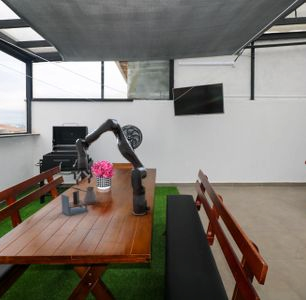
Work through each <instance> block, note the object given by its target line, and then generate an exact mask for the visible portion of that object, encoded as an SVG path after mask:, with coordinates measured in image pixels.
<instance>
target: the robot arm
mask: <svg viewBox="0 0 306 300" xmlns="http://www.w3.org/2000/svg"><path fill="white" fill-rule="evenodd" d="M107 132H111V133H113V135H114V136H115V138H116V146H117V149H118V151H119V153H120V154H121V156H122V158H124V159H125V160H126V161H127V162H128V163H130V164H131V166H132V167H133V168H132V169H131V170H130V186H131V188H132V189H131V191H132V215H134V216H144V215H146V214H147V213H149V211H151V206H150V205H148V201H147V199H146V197H147V196H146V195H147V194H146V185H145V184H143V181H142V180H145V179H146V178H147V177H148V170H147V169H146V167H145V165H144V164H143V162H141V160H140V158H139V157H138V155H137V153H136V152H135V151H134V148H133V147H132V145H131V143H130V142H129V140H128V137H127V136H126V135H125V133H124V131H123V128H122V126H121V124H120V122H119V121H118V120H117V119H114V118H107V119H105V120H104V121H103V122H102V123H101V124H100V125H99V126H98V127H96V128H95V129H94V130H93V131H92V132H90V133H88V134H87V135H86V136H85V137H84V139H82V138H78V139H77V140H76V141H75V149H76V152H77V171H74V172H73V180H74V181H75V184H76V185H77V186H79V185H80V178H83V177H87V184H91V179H92V178H93V177H94V175H93V170H92V169H91V168H90V169H89V162H88V161H89V160H88V152H87V150H88V148H89V147H91V146H92V144H93V143H95V142H97V140H99V139H100V137H101V136H102V135H103V134H105V133H107Z"/></svg>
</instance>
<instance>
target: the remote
mask: <svg viewBox="0 0 306 300" xmlns="http://www.w3.org/2000/svg"><path fill="white" fill-rule="evenodd" d="M72 199H73V200H72V202H73V203H74V204H78V203H79V200H80V190H74V191H73V192H72Z"/></svg>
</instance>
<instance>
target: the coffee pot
mask: <svg viewBox="0 0 306 300" xmlns="http://www.w3.org/2000/svg"><path fill="white" fill-rule="evenodd" d="M70 189H73V190H75V191H79V192H80V191H81V192H85V195H84V197H83V201H84V202H86V203H87V205H94V204H96V203H97V201H98V199H99V198H98V196H97V194H96V191H95V190H94V189H95V187H94V186H87V187H86V190H84V189H81V188H78V187H73V186H71V187H70Z"/></svg>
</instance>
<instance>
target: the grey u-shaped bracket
mask: <svg viewBox="0 0 306 300" xmlns="http://www.w3.org/2000/svg"><path fill="white" fill-rule="evenodd" d="M83 206H84V207H83ZM88 210H89V209H88V204H87V203H86V202H84V200H81V199H79V203H78V204H74V203H73V201H71V202H70V197H69V195H67V194H65V193H61V211H62V213H63V214H64V215H65V216H68V217H69V216H74V215H77V214H81V213H86V212H88Z"/></svg>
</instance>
